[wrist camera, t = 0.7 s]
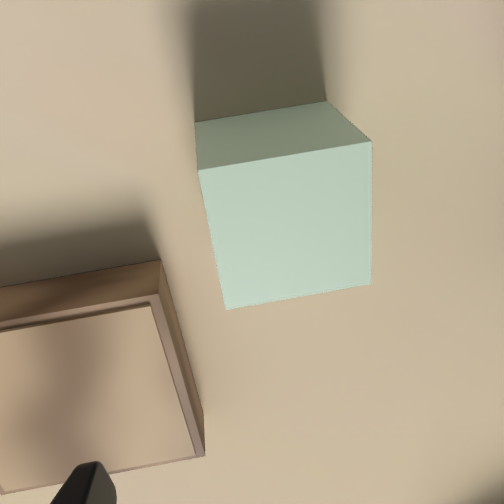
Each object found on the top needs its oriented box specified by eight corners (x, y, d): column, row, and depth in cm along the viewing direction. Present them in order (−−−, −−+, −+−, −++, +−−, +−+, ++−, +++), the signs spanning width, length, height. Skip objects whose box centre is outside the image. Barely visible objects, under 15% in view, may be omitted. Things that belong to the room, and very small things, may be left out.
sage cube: (326, 100, 18) (371, 141, 13) (331, 218, 20) (371, 284, 16) (194, 122, 17) (197, 170, 13) (216, 238, 20) (225, 309, 16)
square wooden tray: (161, 259, 20) (158, 296, 18) (203, 415, 25) (205, 458, 23) (-76, 300, 20) (-110, 343, 17) (16, 450, 25) (0, 498, 23)
